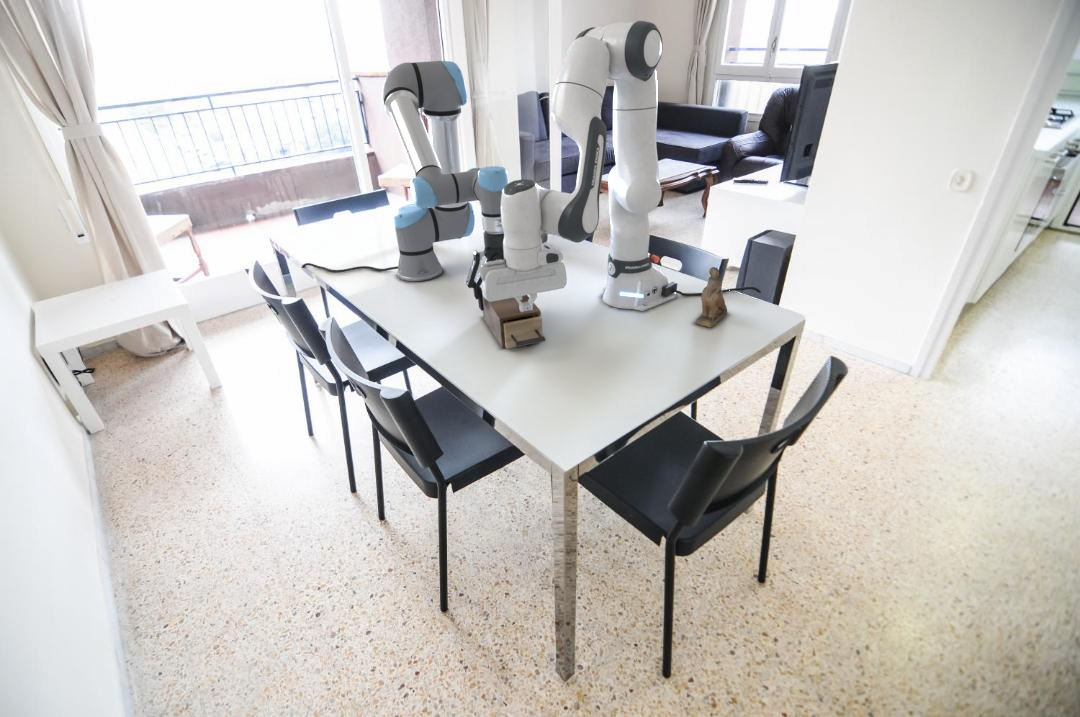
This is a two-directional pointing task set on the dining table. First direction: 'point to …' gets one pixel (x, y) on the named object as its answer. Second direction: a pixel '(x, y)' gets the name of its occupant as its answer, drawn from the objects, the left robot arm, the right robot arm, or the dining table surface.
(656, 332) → the dining table surface
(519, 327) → the drawer
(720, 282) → the worn brown figurine
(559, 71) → the right robot arm
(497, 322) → the cabinet
